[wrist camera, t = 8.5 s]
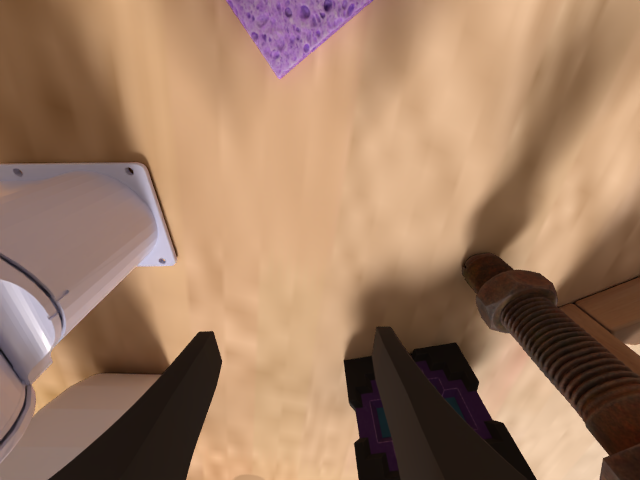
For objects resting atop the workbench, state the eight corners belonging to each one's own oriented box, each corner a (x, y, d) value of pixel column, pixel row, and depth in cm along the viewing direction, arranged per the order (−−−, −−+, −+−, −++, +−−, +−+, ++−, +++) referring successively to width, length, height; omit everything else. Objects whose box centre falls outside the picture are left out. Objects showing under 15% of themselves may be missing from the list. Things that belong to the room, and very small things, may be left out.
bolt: (487, 225, 20) (813, 464, 7) (524, 255, 22) (850, 496, 9) (432, 275, 22) (604, 526, 9) (470, 298, 24) (663, 543, 11)
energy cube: (343, 359, 28) (363, 517, 17) (455, 342, 27) (547, 496, 17) (357, 416, 34) (379, 560, 23) (450, 403, 33) (515, 546, 22)
